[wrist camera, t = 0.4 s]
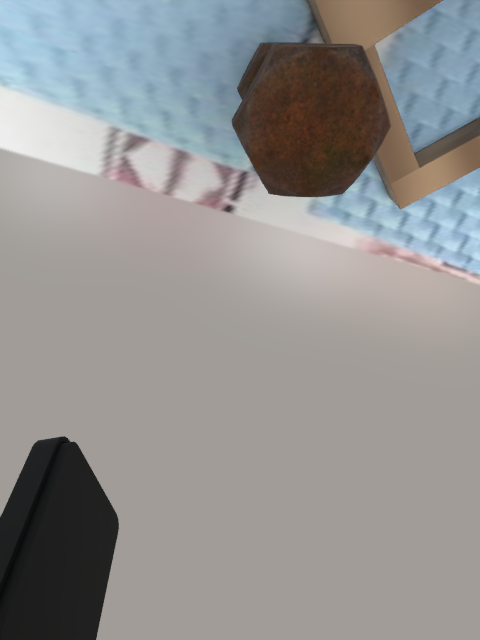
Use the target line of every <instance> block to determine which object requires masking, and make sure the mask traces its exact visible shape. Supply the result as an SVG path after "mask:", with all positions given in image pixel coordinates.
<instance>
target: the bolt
mask: <svg viewBox="0 0 480 640" xmlns="http://www.w3.org/2000/svg"><path fill="white" fill-rule="evenodd" d="M237 89H238V92H239V94H240V96H241V98H242V102H241V104H240V106H239V108H238V109H237V111H236V113H235V115H234V117H233V119H232V125H233V128H234V130H235V132H236V134H237V136H238V138H239V140H240V142H241V144H242V146H243V148H244V150H245V152H246V154H247V155H248V157H249V159H250V161H251V163H252V165H253V166H254V168H255V170H256V172H257V174H258V176H259V177H260V179H261V181H262V183H263V184H264V186H265V188H266V189H267V191H268V193H269V194H274V195H281V196H293V197H324V196H333V195H339V194H343V193H344V192H345V191H346V190H347V189H348V188H349V187H350V186H351V185H352V184H353V183H354V182H355V180H356V179H357V178H358V177H359V176H360V174H361V173H362V172H363V170H364V169H365V168H366V167H367V165H368V164H369V163H370V161H371V160H372V159H373V157H374V156H375V154H376V153H377V151H378V149H379V148H380V146H381V144H382V143H383V141H384V139H385V137H386V135H387V133H388V131H389V129H390V127H391V124H390V119H389V115H388V111H387V108H386V105H385V102H384V98H383V95H382V92H381V89H380V86H379V83H378V80H377V78H376V75H375V73H374V70H373V68H372V65H371V63H370V61H369V59H368V56H367V54H366V52H365V50H364V48H363V46H361V45H357V44H308V43H260V45H259V47H258V49H257V51H256V52H255V54H254V56H253V58H252V60H251V61H250V63H249V65H248V67H247V69H246V71H245V73H244V75H243V77H242V79H241V81H240V83H239V85H238V87H237Z"/></svg>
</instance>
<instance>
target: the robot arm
mask: <svg viewBox="0 0 480 640" xmlns="http://www.w3.org/2000/svg"><path fill="white" fill-rule="evenodd" d="M118 529H119V523H118V517H117V514H116V512H115V510H114V509H113V507H112V505H111V503H110V501H109V500H108V498H107V496H106V495H105V492H104V491H103V489H102V487H101V485H100V484H99V482H98V480H97V478H96V476H95V475H94V473H93V471H92V469H91V468H90V466H89V464H88V462H87V460H86V459H85V457H84V455H83V454H82V452H81V450H80V448H79V446H78V445H77V444H76V443H75V442H70V441H69V440H68V438H66V437H57V438H51V439H45V440H39V441H37V442H36V443H35V444H34V445H33V447H32V449H31V451H30V453H29V456H28V458H27V460H26V462H25V464H24V467H23V469H22V471H21V473H20V475H19V478H18V480H17V482H16V484H15V487H14V489H13V491H12V493H11V495H10V498H9V500H8V502H7V505H6V507H5V509H4V511H3V513H2V515H1V517H0V640H96V637H97V632H98V627H99V622H100V617H101V613H102V607H103V603H104V598H105V593H106V588H107V583H108V578H109V573H110V569H111V564H112V559H113V554H114V549H115V544H116V540H117V535H118Z"/></svg>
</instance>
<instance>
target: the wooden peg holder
mask: <svg viewBox="0 0 480 640" xmlns="http://www.w3.org/2000/svg"><path fill="white" fill-rule="evenodd" d="M307 1H308V4H309V6H310V9H311V11H312V13H313V16H314V18H315V21H316V23H317V25H318V28H319V30H320V32H321V35H322V37H323V40H324V42H325V44H357V45H361V46H363V48H364V50H365V52H366V54H367V56H368V59H369V61H370V63H371V65H372V68H373V70H374V73H375V75H376V78H377V80H378V83H379V86H380V89H381V92H382V95H383V98H384V102H385V105H386V108H387V111H388V115H389V119H390V124H391V127H390V129H389V131H388V133H387V135H386V137H385V139H384V141H383V143H382V144H381V146H380V148H379V149H378V151H377V153H376V154H375V156H374V157H373V159H374V161H375V164H376V166H377V168H378V171H379V173H380V176H381V178H382V180H383V183H384V185H385V188H386V190H387V192H388V195H389V197H390V198H391V199H392V200H393V201H394V203H395V204H396V205H397V206H398V207H399V208H400V209H402V208H404V207H406V206H408V205H410V204H411V203H413V202H415V201H417V200H419V199H421V198H423V197H425V196H427V195H428V194H430V193H432V192H434V191H436V190H438V189H440V188H442V187H444V186H445V185H447V184H449V183H451V182H453V181H455V180H457V179H459V178H461V177H462V176H464V175H466V174H468V173H470V172H472V171H474V170H476V169H478V168H479V167H480V118H478V119H476V120H474V121H473V122H471V123H469V124H467V125H465V126H464V127H462V128H460V129H458V130H456V131H455V132H453V133H451V134H449V135H447V136H446V137H444V138H442V139H440V140H438V141H437V142H435V143H433V144H431V145H430V146H428V147H426V148H424V149H422V150H421V151H419V152H417V153H415V154H414V152H413V149H412V146H411V144H410V141H409V138H408V136H407V133H406V130H405V127H404V125H403V122H402V119H401V117H400V114H399V111H398V108H397V106H396V103H395V100H394V98H393V95H392V92H391V89H390V87H389V84H388V81H387V78H386V76H385V73H384V70H383V68H382V65H381V62H380V59H379V57H378V54H377V51H376V49H375V46H374V44H375V43H377V42H379V41H380V40H382V39H383V38H385V37H386V36H388V35H389V34H391V33H393V32H394V31H396V30H397V29H399V28H400V27H402V26H404V25H405V24H407V23H408V22H410V21H411V20H413V19H415V18H416V17H418V16H419V15H421V14H422V13H424V12H425V11H427V10H429V9H430V8H432V7H433V6H435V5H436V4H438V3H440V2H441V1H443V0H307Z"/></svg>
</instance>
